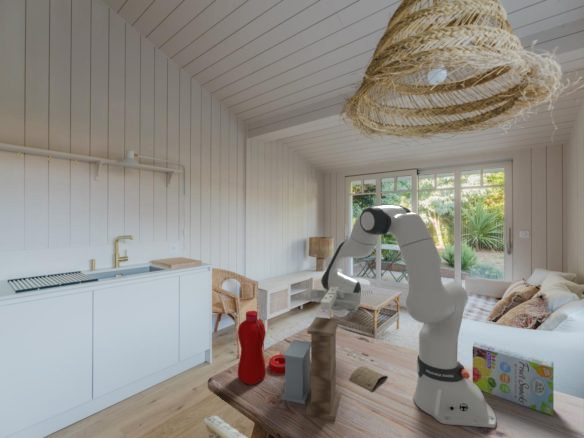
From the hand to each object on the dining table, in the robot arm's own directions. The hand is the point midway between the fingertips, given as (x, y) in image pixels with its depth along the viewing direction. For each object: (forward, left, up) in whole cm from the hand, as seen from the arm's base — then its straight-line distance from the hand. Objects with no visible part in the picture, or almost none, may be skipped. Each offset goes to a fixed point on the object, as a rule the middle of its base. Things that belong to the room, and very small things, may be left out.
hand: (332, 292), depth 107 cm
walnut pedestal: (0, +18, -32) cm, 37 cm away
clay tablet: (-13, -2, -33) cm, 35 cm away
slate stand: (+10, +13, -32) cm, 36 cm away
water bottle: (+28, +11, -32) cm, 44 cm away
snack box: (-59, -5, -32) cm, 67 cm away
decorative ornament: (+21, 0, -32) cm, 39 cm away
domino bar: (0, +5, -2) cm, 5 cm away
